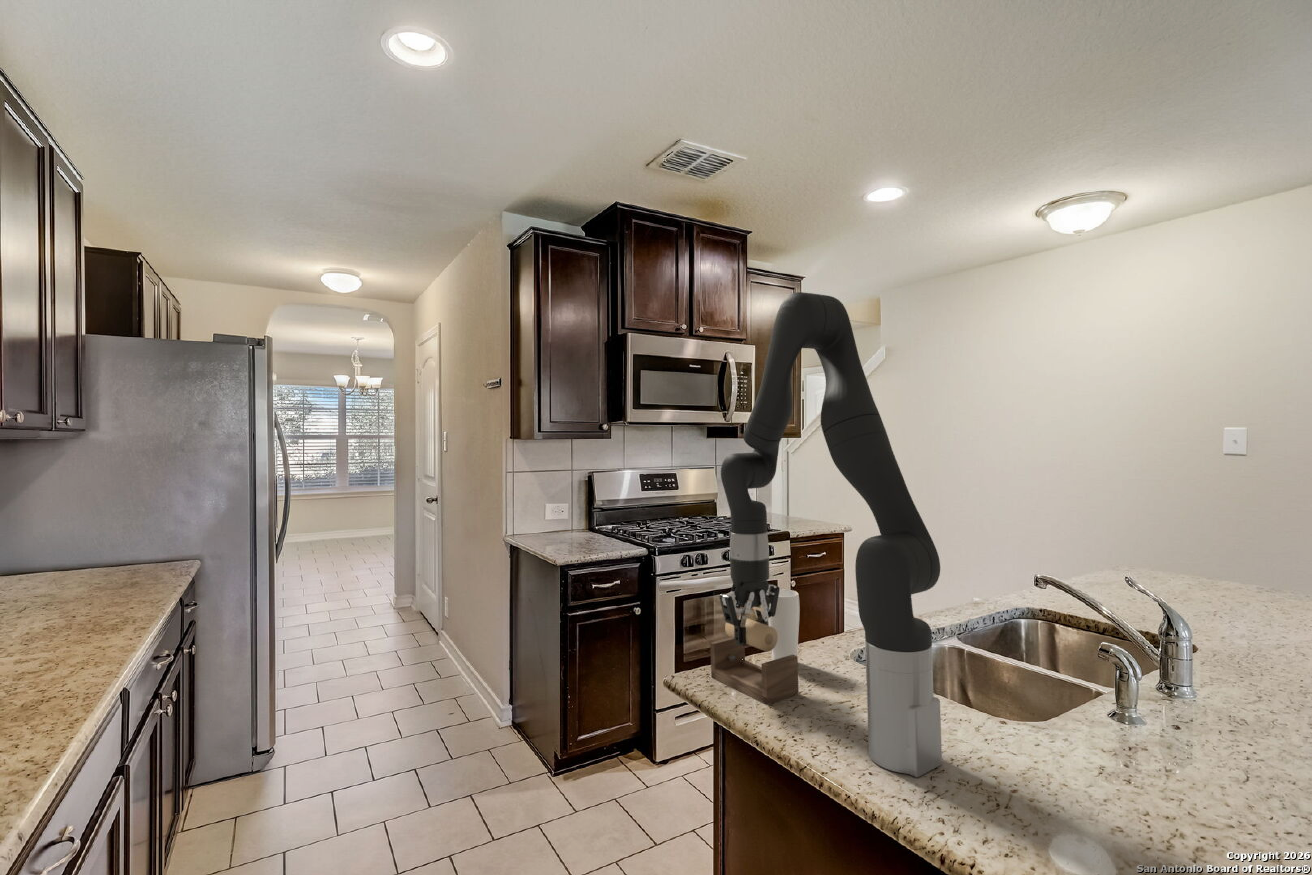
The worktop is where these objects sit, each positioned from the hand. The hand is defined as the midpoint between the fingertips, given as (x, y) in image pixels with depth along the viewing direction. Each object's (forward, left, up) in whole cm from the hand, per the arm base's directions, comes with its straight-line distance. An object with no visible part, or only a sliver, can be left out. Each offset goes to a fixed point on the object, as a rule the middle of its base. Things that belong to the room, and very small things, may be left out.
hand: (751, 641), depth 120 cm
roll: (0, 0, 0) cm, 0 cm away
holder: (0, 0, -8) cm, 8 cm away
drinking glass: (+4, -13, -9) cm, 16 cm away
